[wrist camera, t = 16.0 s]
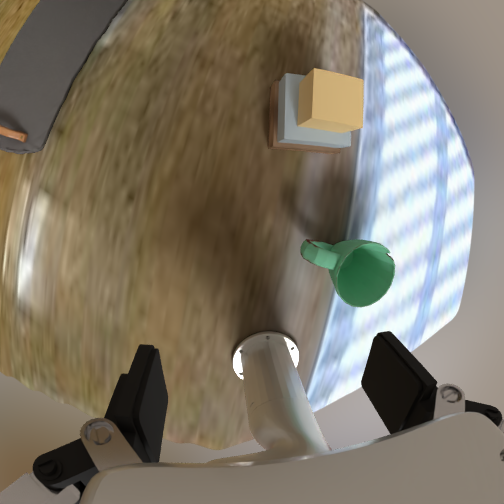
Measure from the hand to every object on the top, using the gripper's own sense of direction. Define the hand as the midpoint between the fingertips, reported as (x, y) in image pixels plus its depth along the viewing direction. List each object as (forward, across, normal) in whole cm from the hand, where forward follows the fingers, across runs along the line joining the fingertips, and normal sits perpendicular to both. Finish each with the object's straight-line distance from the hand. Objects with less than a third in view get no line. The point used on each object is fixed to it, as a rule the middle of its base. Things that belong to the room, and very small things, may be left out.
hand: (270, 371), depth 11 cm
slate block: (+30, -10, -16) cm, 36 cm away
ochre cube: (+26, -10, -16) cm, 32 cm away
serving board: (+35, +35, -33) cm, 59 cm away
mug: (+34, -16, +5) cm, 38 cm away
